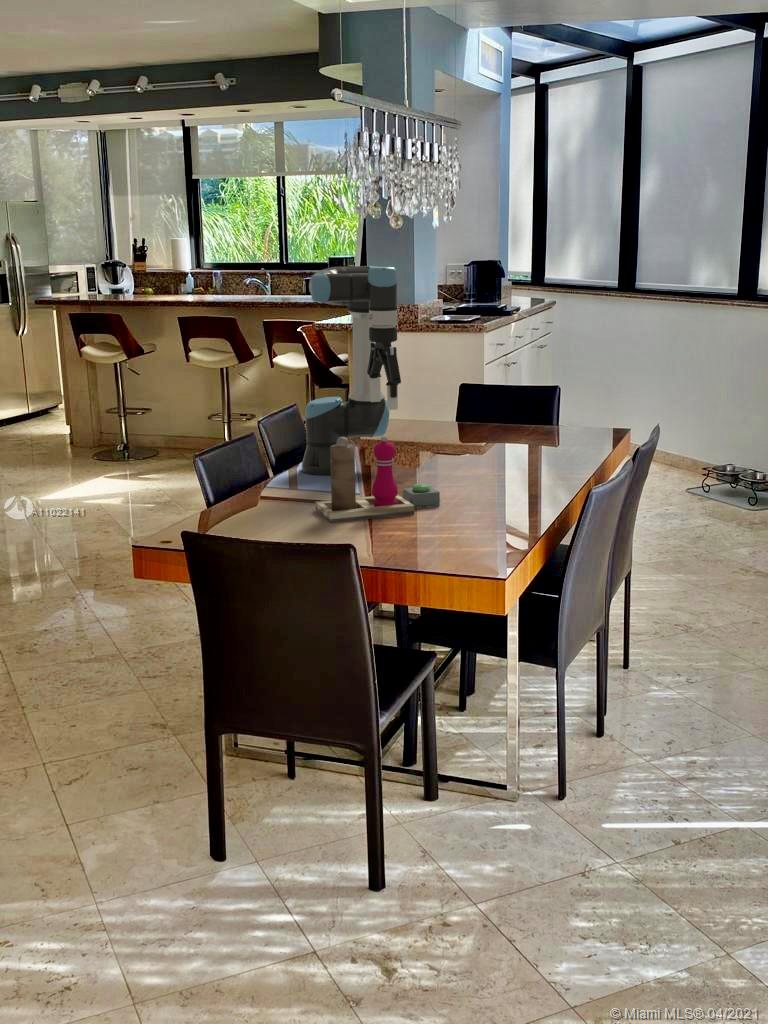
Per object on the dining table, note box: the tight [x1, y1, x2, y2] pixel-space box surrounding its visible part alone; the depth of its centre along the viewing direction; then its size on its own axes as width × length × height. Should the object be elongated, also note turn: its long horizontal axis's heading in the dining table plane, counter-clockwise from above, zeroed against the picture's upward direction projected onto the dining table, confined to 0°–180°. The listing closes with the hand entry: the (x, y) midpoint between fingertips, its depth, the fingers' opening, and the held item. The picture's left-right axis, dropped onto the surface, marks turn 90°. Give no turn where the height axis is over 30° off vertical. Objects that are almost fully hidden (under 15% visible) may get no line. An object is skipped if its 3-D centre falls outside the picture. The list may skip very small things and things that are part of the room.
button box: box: [402, 486, 441, 509], centre depth 301 cm, size 8×8×4 cm
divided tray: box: [315, 494, 415, 524], centre depth 293 cm, size 14×24×2 cm, turn 110°
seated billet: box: [330, 437, 357, 511], centre depth 289 cm, size 7×7×21 cm
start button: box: [412, 483, 431, 492], centre depth 301 cm, size 5×5×4 cm
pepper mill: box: [371, 435, 399, 507], centre depth 293 cm, size 7×7×20 cm
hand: (383, 405), depth 288 cm, fingers open, 13 cm apart
